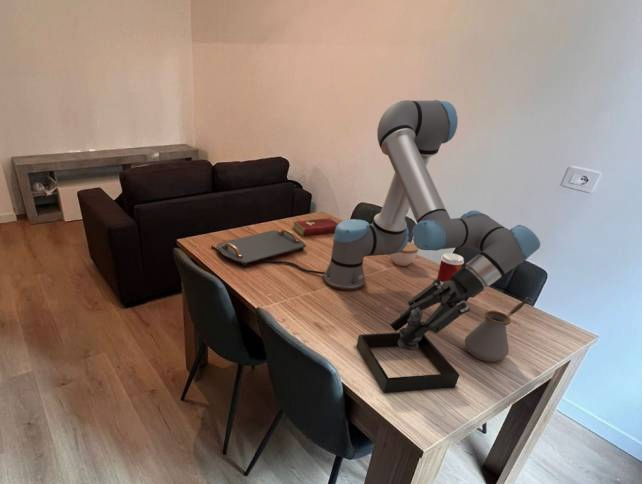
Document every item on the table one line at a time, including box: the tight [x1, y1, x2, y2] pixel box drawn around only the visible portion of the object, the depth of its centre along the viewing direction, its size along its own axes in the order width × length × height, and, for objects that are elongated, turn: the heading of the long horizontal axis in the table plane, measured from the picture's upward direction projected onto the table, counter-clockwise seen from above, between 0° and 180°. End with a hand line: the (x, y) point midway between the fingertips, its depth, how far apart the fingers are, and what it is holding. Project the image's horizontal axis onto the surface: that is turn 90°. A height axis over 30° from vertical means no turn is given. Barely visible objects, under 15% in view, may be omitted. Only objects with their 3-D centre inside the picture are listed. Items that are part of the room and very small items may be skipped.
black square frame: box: [356, 331, 460, 394], centre depth 112 cm, size 20×20×4 cm
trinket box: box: [390, 241, 420, 267], centre depth 170 cm, size 11×11×9 cm
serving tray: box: [216, 228, 307, 268], centre depth 178 cm, size 39×23×6 cm, turn 125°
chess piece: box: [398, 307, 424, 351], centre depth 106 cm, size 6×6×12 cm
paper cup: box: [436, 252, 465, 282], centre depth 148 cm, size 8×8×14 cm
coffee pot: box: [464, 296, 534, 363], centre depth 117 cm, size 21×12×15 cm, turn 121°
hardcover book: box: [292, 217, 340, 238], centre depth 202 cm, size 12×21×4 cm, turn 109°
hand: (397, 334), depth 107 cm, fingers closed on chess piece, 5 cm apart
